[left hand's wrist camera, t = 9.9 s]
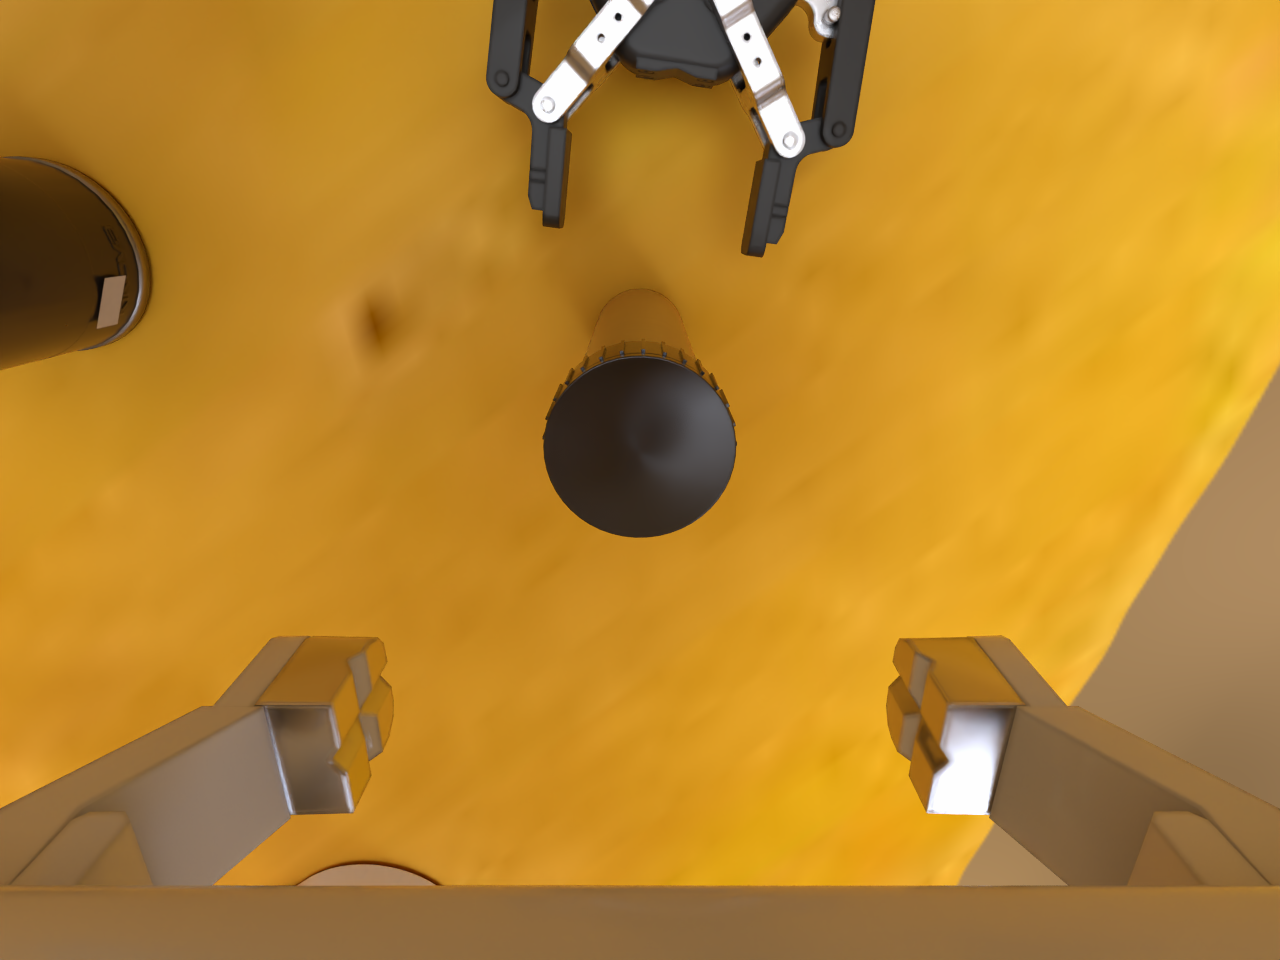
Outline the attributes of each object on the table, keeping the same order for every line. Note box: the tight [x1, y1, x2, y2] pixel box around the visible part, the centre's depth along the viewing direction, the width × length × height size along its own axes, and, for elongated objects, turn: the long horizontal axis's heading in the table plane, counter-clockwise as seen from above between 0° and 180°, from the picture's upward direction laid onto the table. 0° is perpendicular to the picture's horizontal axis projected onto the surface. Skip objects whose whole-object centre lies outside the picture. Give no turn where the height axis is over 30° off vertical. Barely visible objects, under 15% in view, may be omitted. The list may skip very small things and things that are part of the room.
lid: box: [543, 339, 737, 538], centre depth 21 cm, size 6×6×2 cm
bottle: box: [585, 289, 696, 360], centre depth 29 cm, size 5×5×19 cm
